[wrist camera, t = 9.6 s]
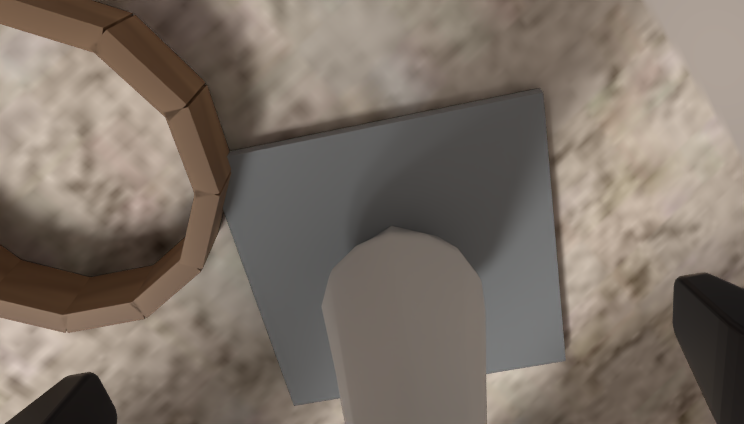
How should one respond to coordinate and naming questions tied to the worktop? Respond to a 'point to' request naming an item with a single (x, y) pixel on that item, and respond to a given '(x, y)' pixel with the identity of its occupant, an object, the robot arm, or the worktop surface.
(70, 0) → the holder ring
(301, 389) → the mat
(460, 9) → the worktop surface
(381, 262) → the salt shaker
